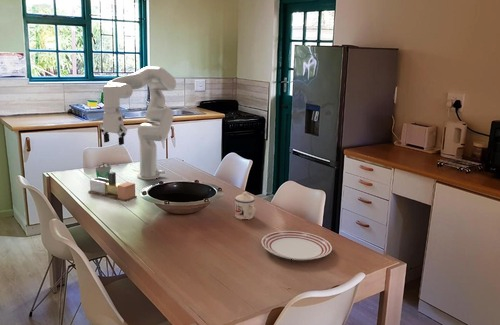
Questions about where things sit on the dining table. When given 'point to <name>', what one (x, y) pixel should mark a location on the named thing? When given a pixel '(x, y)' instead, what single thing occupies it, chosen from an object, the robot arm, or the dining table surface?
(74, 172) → the dining table surface
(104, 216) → the dining table surface
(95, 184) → the white rectangular block
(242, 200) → the teacup with lid
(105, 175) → the food container
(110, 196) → the base board
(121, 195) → the socket block
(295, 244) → the dinner plate
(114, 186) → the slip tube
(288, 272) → the dining table surface
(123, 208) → the dining table surface
